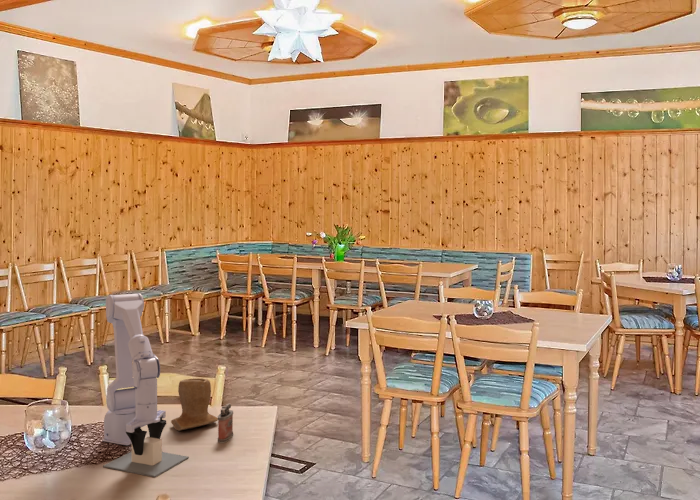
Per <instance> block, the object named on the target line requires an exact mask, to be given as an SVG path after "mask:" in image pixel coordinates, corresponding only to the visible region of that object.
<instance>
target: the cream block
mask: <svg viewBox="0 0 700 500" xmlns="http://www.w3.org/2000/svg"><path fill="white" fill-rule="evenodd" d="M162 442H163V439H161V438H160V439H157V438H151V437H149V436H145V439H144V447H143V454H142V455H135V453H134V449H133V446H132V443H131V444H130V445H131V452H132V462H136V463H142V464H147V465H155V464H157V463H158V462H160V461H162V452H163V448H162V447H163V446H162V445H163V443H162Z"/></svg>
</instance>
